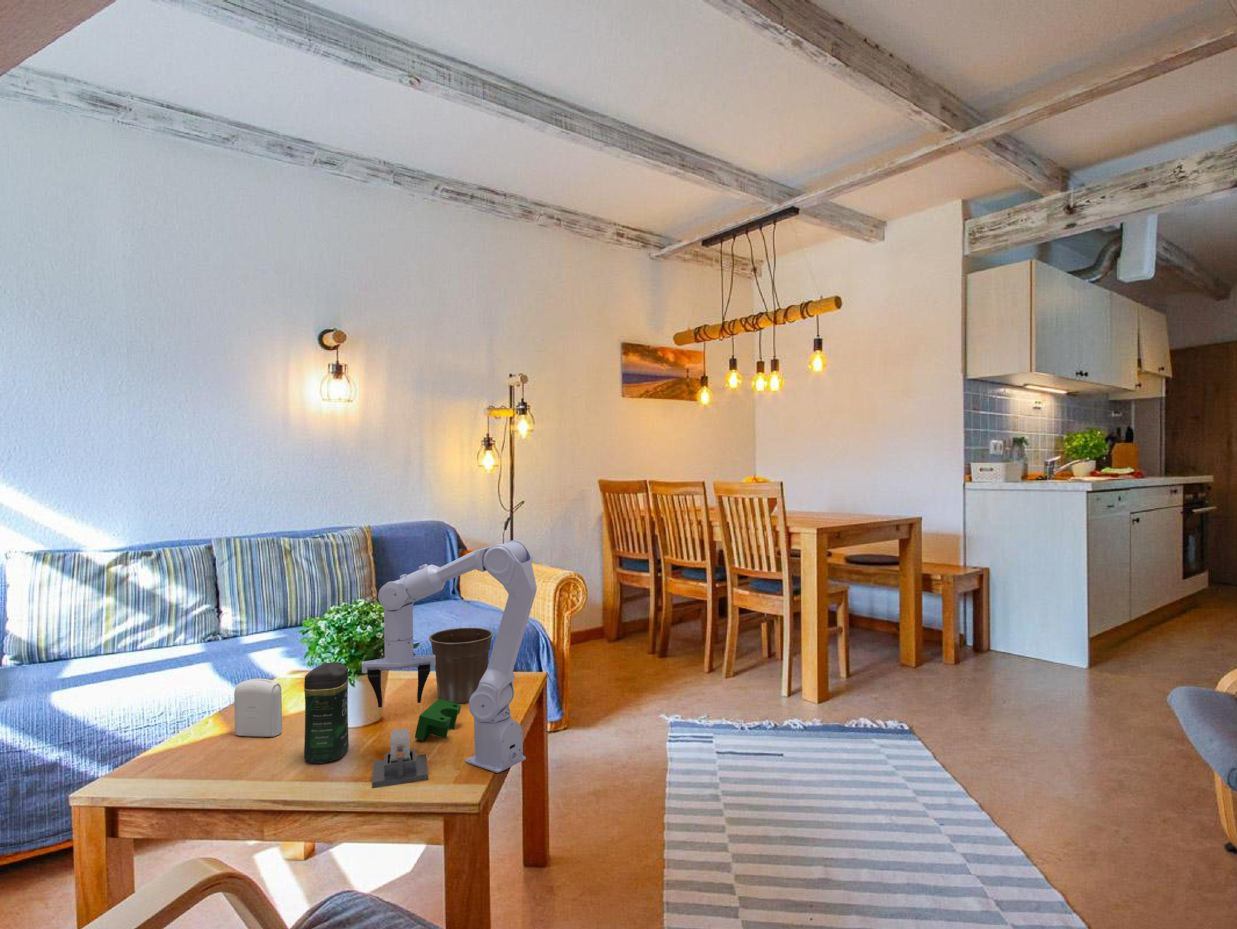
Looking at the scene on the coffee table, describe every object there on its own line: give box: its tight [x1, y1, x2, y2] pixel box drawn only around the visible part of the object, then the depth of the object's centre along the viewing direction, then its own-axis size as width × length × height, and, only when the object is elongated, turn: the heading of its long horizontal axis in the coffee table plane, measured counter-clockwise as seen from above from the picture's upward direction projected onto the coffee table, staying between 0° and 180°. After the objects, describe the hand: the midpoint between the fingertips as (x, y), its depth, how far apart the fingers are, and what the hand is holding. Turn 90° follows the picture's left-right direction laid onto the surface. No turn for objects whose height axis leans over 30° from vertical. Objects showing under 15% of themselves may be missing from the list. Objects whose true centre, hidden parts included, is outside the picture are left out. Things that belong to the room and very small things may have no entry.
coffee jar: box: [303, 661, 350, 764], centre depth 144 cm, size 10×8×19 cm
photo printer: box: [233, 678, 283, 738], centre depth 156 cm, size 10×4×12 cm, turn 81°
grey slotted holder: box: [371, 749, 429, 789], centre depth 135 cm, size 10×10×5 cm
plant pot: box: [428, 627, 494, 705], centre depth 180 cm, size 16×16×16 cm
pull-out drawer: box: [389, 727, 411, 763], centre depth 135 cm, size 4×5×6 cm
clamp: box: [414, 698, 462, 742], centre depth 155 cm, size 12×6×9 cm, turn 168°
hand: (399, 703), depth 144 cm, fingers open, 7 cm apart
